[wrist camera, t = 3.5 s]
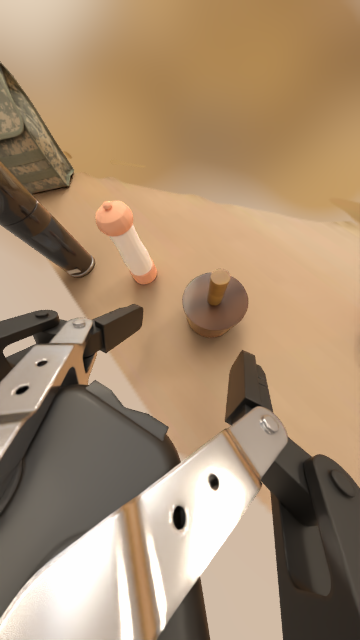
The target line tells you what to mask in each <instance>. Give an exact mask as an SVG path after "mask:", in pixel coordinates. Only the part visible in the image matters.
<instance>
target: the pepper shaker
mask: <svg viewBox="0 0 360 640" xmlns="http://www.w3.org/2000/svg"><path fill="white" fill-rule="evenodd" d="M95 217H96V224H97V226H98V228H99V229H100V231H102V232H103V233H104V234H106V235H108V236H109V237H110V238H111V240H112V241H113V243H114V244H115V246H116V247H117V249H118V250H119V252H120V255H121V257H122V259H123V261H124V263H125V264H126V266H127V267H128V268H129V271H130V273H131V275H132V276H133V277H134V279H135V280H136V282H138V283H139V284H148V283H151V282H152V281H153V280H154V279H155V278H156V276H157V270H156V267H155V265H154V262H153V261H152V259H151V258H150V256H149V254H148V251H147V250H146V248H145V247H144V245H143V244H142V242H141V240H140V239H139V237H138V234H137V232H136V230H135V228H134V226H133V214H132V211H131V210H130V208H129V207H128V206H127V205H126V204H124V203H123V202H121V201H105V202H104V203H103V204H102V206H101V207H100V208H99V209H98V210H97V212H96V215H95Z"/></svg>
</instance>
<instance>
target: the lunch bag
mask: <svg viewBox="0 0 360 640" xmlns="http://www.w3.org/2000/svg"><path fill="white" fill-rule="evenodd" d="M0 160H1V162H2V163H3V164H4V165H5V166H6V167H7V168H8V169H9V170H10V171H11V172H12V173H13V174H14V175H15V176H16V177H17V179H18V180H19V181H20V182H21V183H22V184H23V185H24V187H25V188H26V189H27V190H28V191H29V192H30V193H31V194H33V193H37V192H41V191H46V190H52V189H56V188H61V187H65V186H69V182H70V175H72V173H74V169H73V167H72V166H71V164H70V163H69V161H68V160H67V158H66V156H65V155H64V154H63V152H62V151H61V149H60V148H59V146H58V144H57V143H56V141H55V140H54V138H53V136H52V135H51V133H50V131H49V130H48V128H47V126H46V125H45V123H44V121H43V120H42V118H41V117H40V115H39V113H38V112H37V110H36V108H35V107H34V105H33V103H32V102H31V101H30V99H29V98H28V96H27V95H26V93H25V92H24V91H23V89H22V88H21V86H20V85H19V84H18V82H17V81H16V80H15V78H14V77H13V76H12V74H11V73H10V72H9V71H8V70H7V68H6V67H5V66H4V65H3V64H2V63H1V62H0Z"/></svg>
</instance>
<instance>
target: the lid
mask: <svg viewBox="0 0 360 640" xmlns="http://www.w3.org/2000/svg"><path fill="white" fill-rule="evenodd" d="M182 303H183V308H184V311H185V313H186V315H187V317H188V318H189V319H190V321H191V322H193V323H194V324H195V325H197V326H198V327H200V328H202V329H205V330H210V331H221V330H226V329H229V328H231V327H233V326H235V325H236V324H237V323H238V322H240V320H241V319H242V318H243V317H244V315H245V313H246V311H247V308H248V296H247V293H246V291H245V289H244V287H243V286H242V284H241V283H240V282H239V281H238V280H236V279H235V278H233V277H232V276H230V273H229V272H228V271H227V270H225V269H216V270H214V271H213V272H212V273H206V274H202V275H200V276H198V277H196V278H195V279H193V280H192V281H191V282H190V283H189V284H188V285H187V287H186V289H185V291H184V294H183V299H182Z"/></svg>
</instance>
